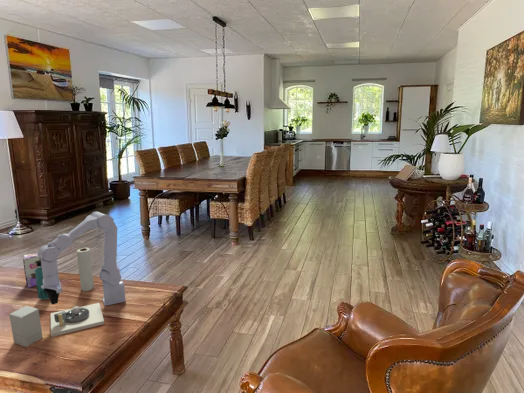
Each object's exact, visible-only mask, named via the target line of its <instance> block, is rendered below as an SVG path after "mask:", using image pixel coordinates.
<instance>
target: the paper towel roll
mask: <svg viewBox="0 0 524 393" xmlns="http://www.w3.org/2000/svg"><path fill="white" fill-rule="evenodd" d="M76 254H77V255H76V258H77V265H78V272H79V273H78V274H79V282H80V290H81V291H82V292H88V291H89V292H90V291H91V290H94V288H95V286H94V283H95V282H94V274H93V266H92V254H91V248H90V247H87V246H84V247H82V248H79V249H77V250H76Z"/></svg>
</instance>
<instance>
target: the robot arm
mask: <svg viewBox="0 0 524 393" xmlns="http://www.w3.org/2000/svg"><path fill="white" fill-rule="evenodd" d="M99 228H100V229H101V230H102V231H104V256H103V258H104V260H103V265H101V268H100V269H101V270H100V272H99V275H98V276H99V279H100V280H101V281H102V289H103V290H102V291H103V297H102V302H103V305H104V306H105V307H106V306H111V305H115V304H119V303H124V302H126V291H125V290H126V289H125V284H124V281H123V280H122V276H121V275H122V274H121V273H120V272H121V271H120V268H119V266H118V264H117V260H118V259H117V257H118V255H117V253H118V226H117V225H116V223H115V221H114V218H113V217H112V216H111V215H109V214H106V213H102V212H100V211H93V212H92V213H91V214H89V215H87V216H86V217H85V219H84V220H82V222H80V223H79V224H78V225H76V226H75V227H74V228H73V229H72V230H70V231H69V232H68V233H61V234H58V235H57V237H56V238H55V239H53V240H52V241H51V242H50V241H49V242H47V245H46V244H45V245H42V246H41V247H40V248H39V249H38V251H37V252H36V253H37V255H38V257H40V258H41V266H42V273H43V280H42V281H43V284H44V285H43V286H41V288H42V289H44V288H45V289H44V291H45V292H46V294H47V295H48V297H49V298H48V300H49V302H50V304H51V305H56V304H58V303H59V299H60V298H59V296H60V293H62V292H63V287H62V285H61V281H60V274H59V268H58V262H57V259H58V258H59V256H60V255H59V254H61V253H62V252H64V251H65V250H66V249H67V248H68V247H70V246H71V245H72V244H73V242H74V240H75V239H77V238H78V237H79V236H81V235H82V234H84V233H86V232H87V231H88V230H92V229H93V230H94V229H97V230H98V229H99Z"/></svg>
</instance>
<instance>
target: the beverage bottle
mask: <svg viewBox="0 0 524 393" xmlns="http://www.w3.org/2000/svg"><path fill="white" fill-rule="evenodd" d="M37 266H40V267H38V268H37V269H36V270H35V275H36V284H37V286H36V291H37V298H38V299H39V300H49V297H48V295H47V294H46V292H45V291H44V289H45V288H44V289H42V288H41V286H43V285H44V284H43V281H42V280H43V273H42V266H41V260H38V261H37Z"/></svg>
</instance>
